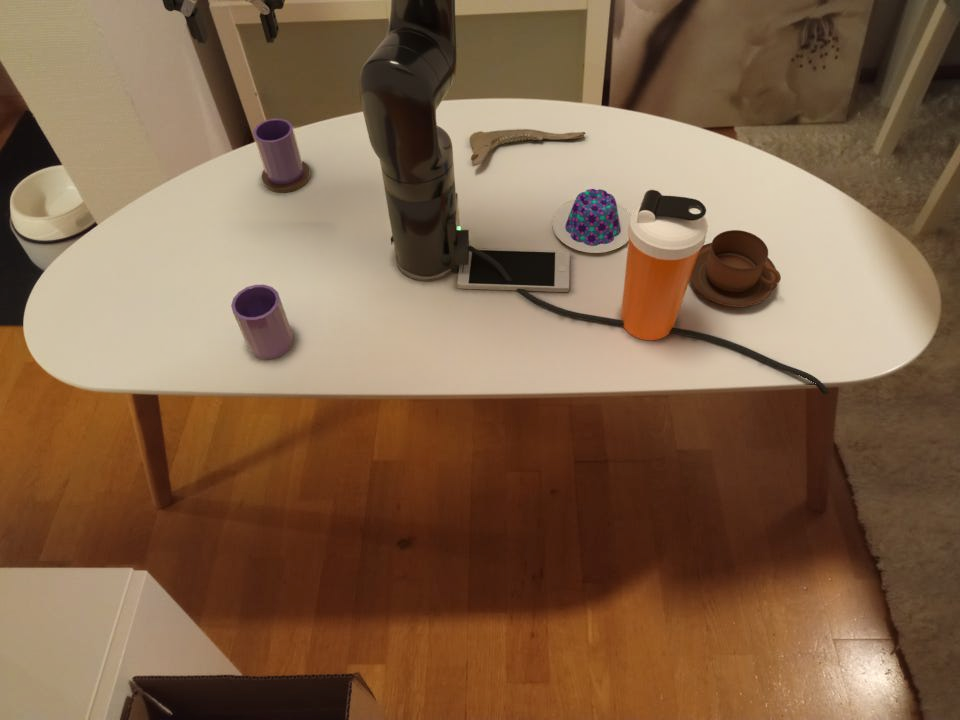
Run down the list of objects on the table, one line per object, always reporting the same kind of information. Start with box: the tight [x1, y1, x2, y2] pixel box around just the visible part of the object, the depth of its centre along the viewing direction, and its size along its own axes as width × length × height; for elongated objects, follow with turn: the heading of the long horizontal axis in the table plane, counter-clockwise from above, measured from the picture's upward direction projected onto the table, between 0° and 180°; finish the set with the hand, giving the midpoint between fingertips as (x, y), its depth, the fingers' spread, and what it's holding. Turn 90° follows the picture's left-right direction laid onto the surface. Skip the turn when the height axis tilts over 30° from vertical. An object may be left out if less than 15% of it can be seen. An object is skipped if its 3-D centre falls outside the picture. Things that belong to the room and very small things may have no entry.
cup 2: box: [230, 284, 294, 360], centre depth 98 cm, size 6×6×8 cm
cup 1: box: [252, 117, 304, 184], centre depth 118 cm, size 6×6×8 cm
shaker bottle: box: [620, 188, 709, 341], centre depth 93 cm, size 9×9×20 cm
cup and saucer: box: [689, 229, 782, 307], centre depth 103 cm, size 12×12×6 cm
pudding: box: [551, 188, 631, 254], centre depth 110 cm, size 12×12×5 cm
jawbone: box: [469, 128, 587, 167], centre depth 125 cm, size 9×20×2 cm, turn 115°
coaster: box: [261, 160, 311, 193], centre depth 122 cm, size 8×8×1 cm
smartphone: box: [456, 248, 571, 293], centre depth 107 cm, size 7×16×1 cm, turn 85°
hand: (238, 40), depth 94 cm, fingers open, 8 cm apart
